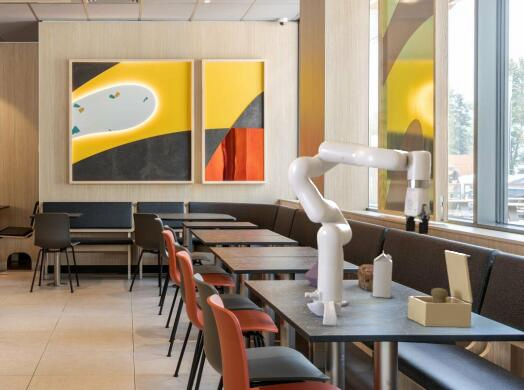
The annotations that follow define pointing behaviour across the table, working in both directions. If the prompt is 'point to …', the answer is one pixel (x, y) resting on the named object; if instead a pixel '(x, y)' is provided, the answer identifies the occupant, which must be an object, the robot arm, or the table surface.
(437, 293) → the cork
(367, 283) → the bread
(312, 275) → the flask
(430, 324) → the chest
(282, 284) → the table surface
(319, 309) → the spoon rest
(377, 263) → the milk carton
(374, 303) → the table surface
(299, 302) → the table surface
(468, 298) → the lid
